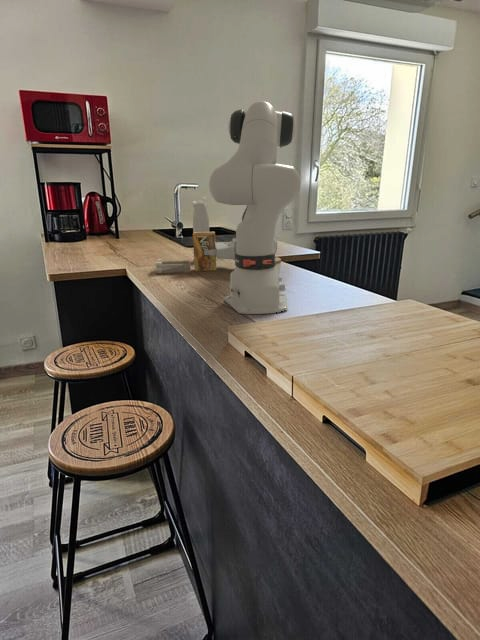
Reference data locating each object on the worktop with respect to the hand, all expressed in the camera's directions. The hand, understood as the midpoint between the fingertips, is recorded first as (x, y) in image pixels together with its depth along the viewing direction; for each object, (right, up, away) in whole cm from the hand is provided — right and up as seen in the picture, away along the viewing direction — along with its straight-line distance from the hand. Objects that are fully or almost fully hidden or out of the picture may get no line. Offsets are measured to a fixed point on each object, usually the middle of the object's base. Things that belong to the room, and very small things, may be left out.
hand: (203, 250), depth 171 cm
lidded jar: (+24, -14, -17) cm, 33 cm away
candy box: (+1, -8, +3) cm, 8 cm away
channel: (-12, -8, +1) cm, 15 cm away
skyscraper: (-2, -1, +23) cm, 23 cm away
